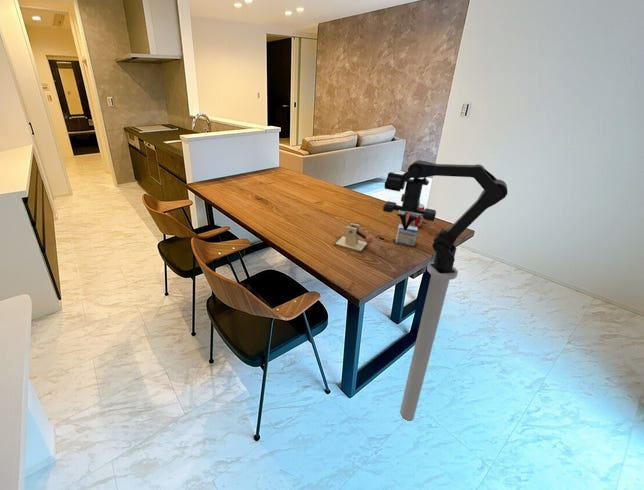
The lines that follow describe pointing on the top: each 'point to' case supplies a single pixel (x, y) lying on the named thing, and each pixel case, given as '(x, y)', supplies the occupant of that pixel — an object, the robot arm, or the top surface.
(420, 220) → the soda can
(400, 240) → the medicine box
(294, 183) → the top surface
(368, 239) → the switch lever
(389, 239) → the top surface
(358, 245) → the switch bracket
